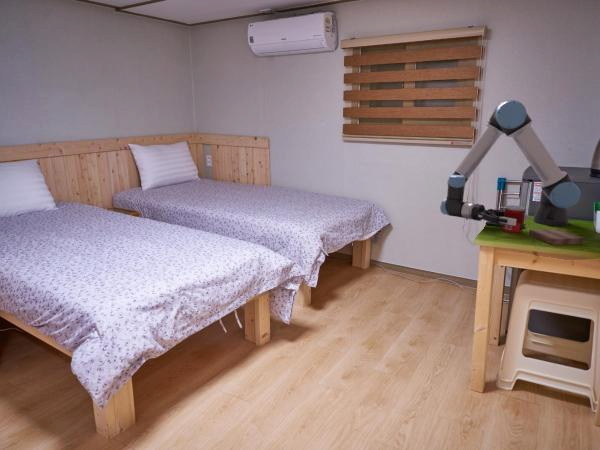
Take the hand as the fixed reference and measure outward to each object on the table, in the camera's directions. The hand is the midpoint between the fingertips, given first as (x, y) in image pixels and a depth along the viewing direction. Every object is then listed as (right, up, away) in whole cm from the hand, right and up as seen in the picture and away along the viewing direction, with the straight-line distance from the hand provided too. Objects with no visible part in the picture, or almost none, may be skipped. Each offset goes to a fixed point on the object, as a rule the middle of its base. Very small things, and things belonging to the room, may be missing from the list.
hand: (521, 219), depth 198 cm
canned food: (-2, -5, +4) cm, 7 cm away
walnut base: (+10, -8, -8) cm, 15 cm away
